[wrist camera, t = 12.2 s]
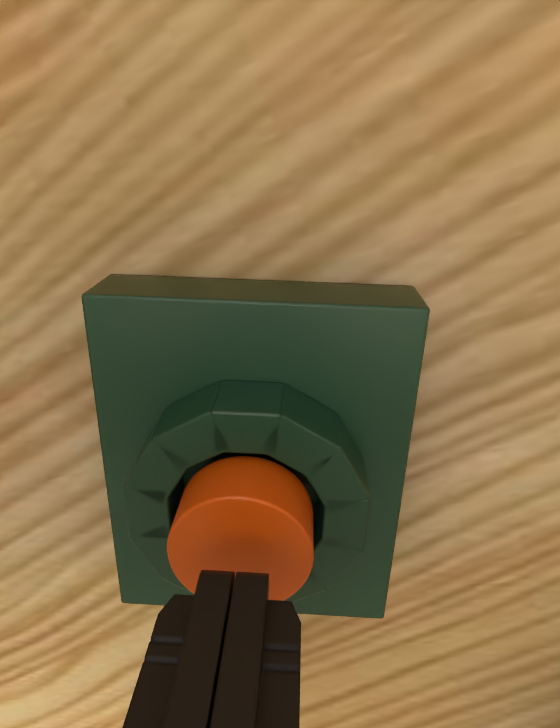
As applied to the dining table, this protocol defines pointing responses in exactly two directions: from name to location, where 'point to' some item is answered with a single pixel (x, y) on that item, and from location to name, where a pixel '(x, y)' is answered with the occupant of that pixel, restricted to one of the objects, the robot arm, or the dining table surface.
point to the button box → (257, 414)
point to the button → (244, 525)
